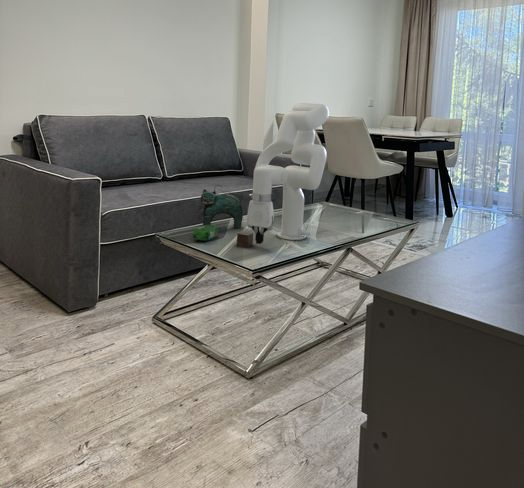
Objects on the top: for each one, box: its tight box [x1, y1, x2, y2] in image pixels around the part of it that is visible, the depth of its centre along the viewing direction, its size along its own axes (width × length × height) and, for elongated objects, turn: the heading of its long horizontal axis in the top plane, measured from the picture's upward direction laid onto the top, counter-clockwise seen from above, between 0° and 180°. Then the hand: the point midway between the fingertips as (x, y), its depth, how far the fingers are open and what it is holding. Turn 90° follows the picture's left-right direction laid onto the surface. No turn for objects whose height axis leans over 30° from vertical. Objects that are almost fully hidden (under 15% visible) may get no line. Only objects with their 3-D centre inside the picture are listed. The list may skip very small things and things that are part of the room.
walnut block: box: [236, 230, 254, 249], centre depth 203 cm, size 5×5×5 cm
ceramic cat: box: [200, 184, 244, 229], centre depth 231 cm, size 20×6×20 cm, turn 99°
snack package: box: [192, 224, 220, 242], centre depth 209 cm, size 7×16×5 cm, turn 161°
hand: (259, 243), depth 200 cm, fingers closed
